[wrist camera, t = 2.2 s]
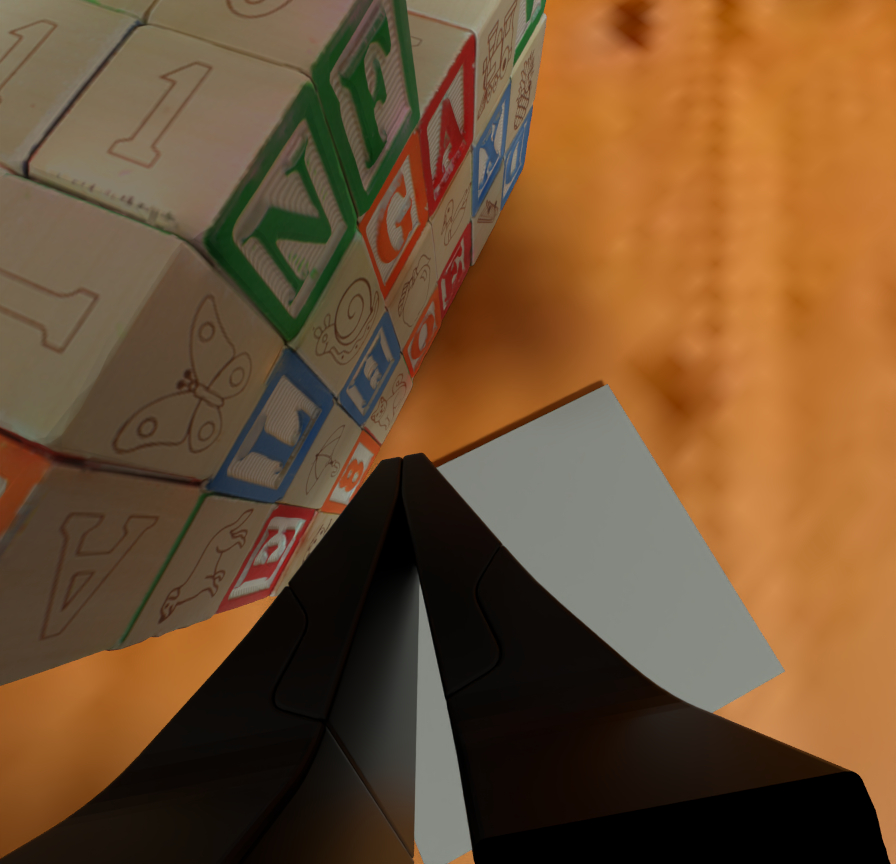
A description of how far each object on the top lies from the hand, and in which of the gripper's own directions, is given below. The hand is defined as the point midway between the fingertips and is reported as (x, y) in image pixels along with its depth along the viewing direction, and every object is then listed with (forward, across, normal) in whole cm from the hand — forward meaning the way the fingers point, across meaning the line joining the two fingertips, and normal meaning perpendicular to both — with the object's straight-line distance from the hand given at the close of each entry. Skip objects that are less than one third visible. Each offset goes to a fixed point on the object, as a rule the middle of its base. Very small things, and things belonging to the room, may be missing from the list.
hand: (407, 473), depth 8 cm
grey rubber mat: (+3, -3, +9) cm, 10 cm away
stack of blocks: (+12, +2, 0) cm, 12 cm away
